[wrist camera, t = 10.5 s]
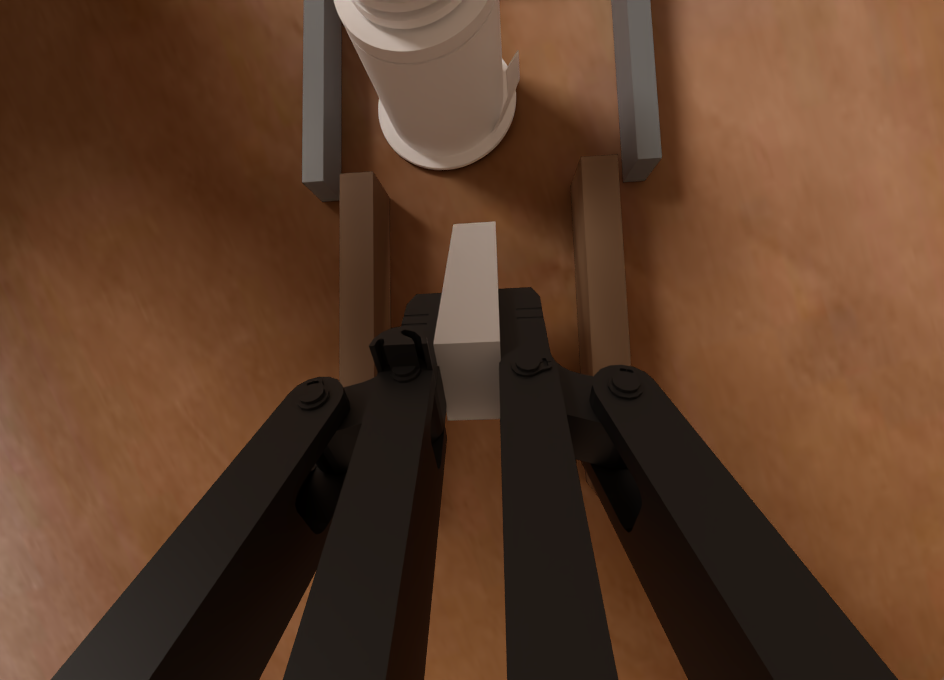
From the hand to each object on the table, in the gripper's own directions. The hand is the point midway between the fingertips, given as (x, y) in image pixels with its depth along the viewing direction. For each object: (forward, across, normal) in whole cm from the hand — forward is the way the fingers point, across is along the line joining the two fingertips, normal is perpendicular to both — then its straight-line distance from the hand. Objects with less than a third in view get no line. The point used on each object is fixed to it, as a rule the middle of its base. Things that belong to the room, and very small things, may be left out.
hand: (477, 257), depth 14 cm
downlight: (+10, -2, +4) cm, 11 cm away
